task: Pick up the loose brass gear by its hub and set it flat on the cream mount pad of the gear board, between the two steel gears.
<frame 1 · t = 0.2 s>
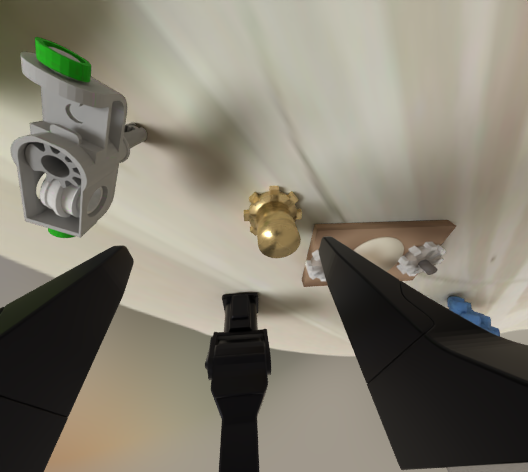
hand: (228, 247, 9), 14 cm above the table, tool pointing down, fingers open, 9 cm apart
brass gear: (272, 212, 24), on the table
mechanical component: (138, 132, 17), on the table
grapes: (445, 298, 42), on the table
gear board: (367, 252, 30), on the table
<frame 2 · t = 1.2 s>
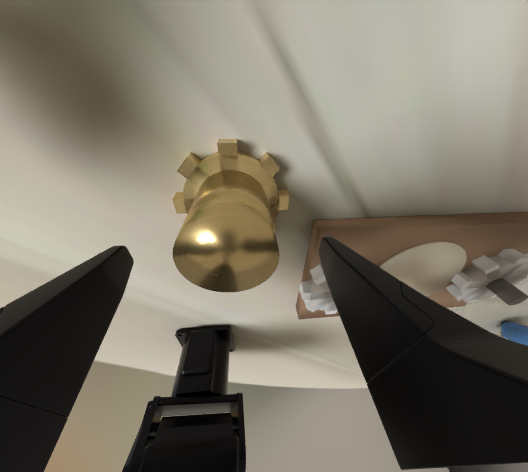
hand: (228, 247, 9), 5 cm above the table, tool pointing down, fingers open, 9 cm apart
brass gear: (233, 197, 13), on the table
grapes: (496, 324, 31), on the table
gear board: (400, 266, 19), on the table
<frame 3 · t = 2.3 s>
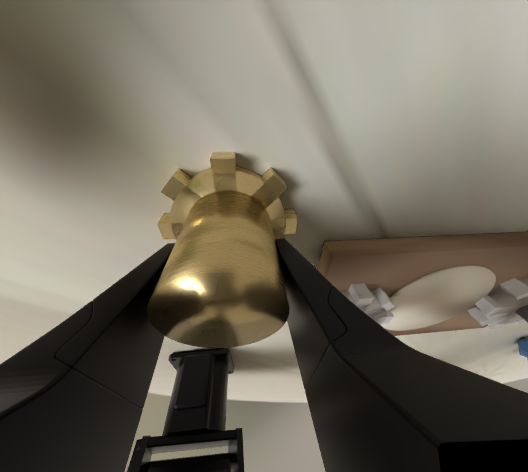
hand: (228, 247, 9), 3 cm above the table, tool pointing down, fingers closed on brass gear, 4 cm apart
brass gear: (231, 218, 11), on the table, touching gripper
grapes: (512, 340, 29), on the table
gear board: (417, 287, 17), on the table
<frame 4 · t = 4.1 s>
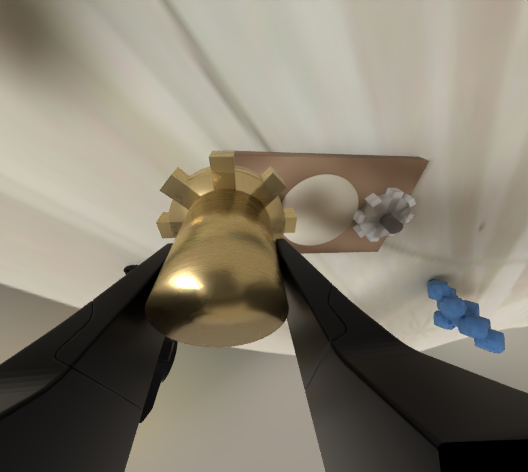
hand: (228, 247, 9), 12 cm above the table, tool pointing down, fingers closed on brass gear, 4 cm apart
brass gear: (230, 217, 11), point 10 cm above the table, touching gripper
grapes: (425, 283, 35), on the table
gear board: (313, 207, 22), on the table
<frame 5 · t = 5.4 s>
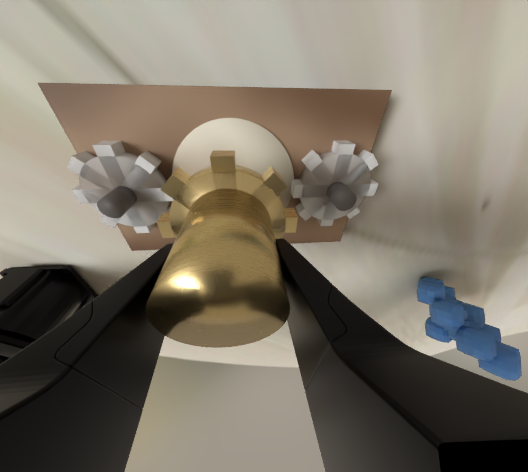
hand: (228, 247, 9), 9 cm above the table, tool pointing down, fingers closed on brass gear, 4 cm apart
brass gear: (231, 217, 11), point 6 cm above the table, touching gripper
grapes: (415, 281, 27), on the table
gear board: (236, 179, 16), on the table
when the fingers open (5 cm above the table, at t = 6.4 s): brass gear stays where it is, resting on gear board.
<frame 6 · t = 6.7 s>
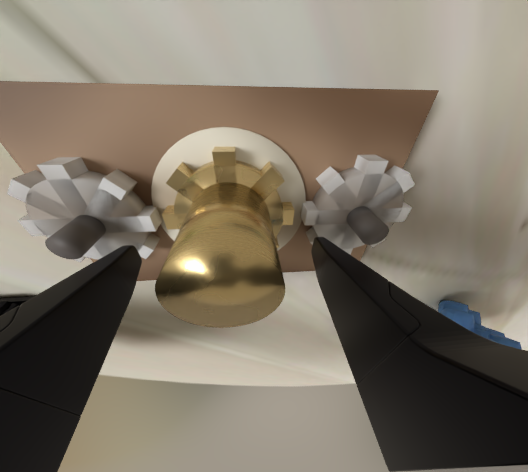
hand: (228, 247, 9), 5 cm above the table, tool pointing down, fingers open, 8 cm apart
brass gear: (231, 210, 11), point 2 cm above the table, touching gear board
grapes: (434, 304, 25), on the table
gear board: (233, 199, 13), on the table
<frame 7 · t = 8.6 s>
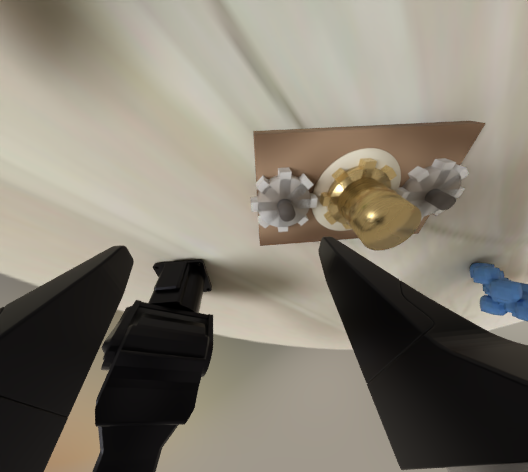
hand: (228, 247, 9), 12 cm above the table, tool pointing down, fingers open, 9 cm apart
brass gear: (354, 194, 19), point 2 cm above the table, touching gear board
grapes: (466, 267, 32), on the table
gear board: (347, 188, 20), on the table
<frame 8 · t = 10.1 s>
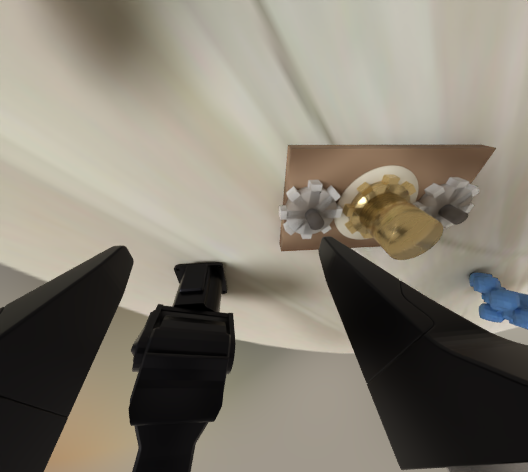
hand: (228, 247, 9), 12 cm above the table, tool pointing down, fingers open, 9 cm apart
brass gear: (375, 206, 21), point 2 cm above the table, touching gear board
grapes: (466, 276, 34), on the table
gear board: (367, 200, 22), on the table
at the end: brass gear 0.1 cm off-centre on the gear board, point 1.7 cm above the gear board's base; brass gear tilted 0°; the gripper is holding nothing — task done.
